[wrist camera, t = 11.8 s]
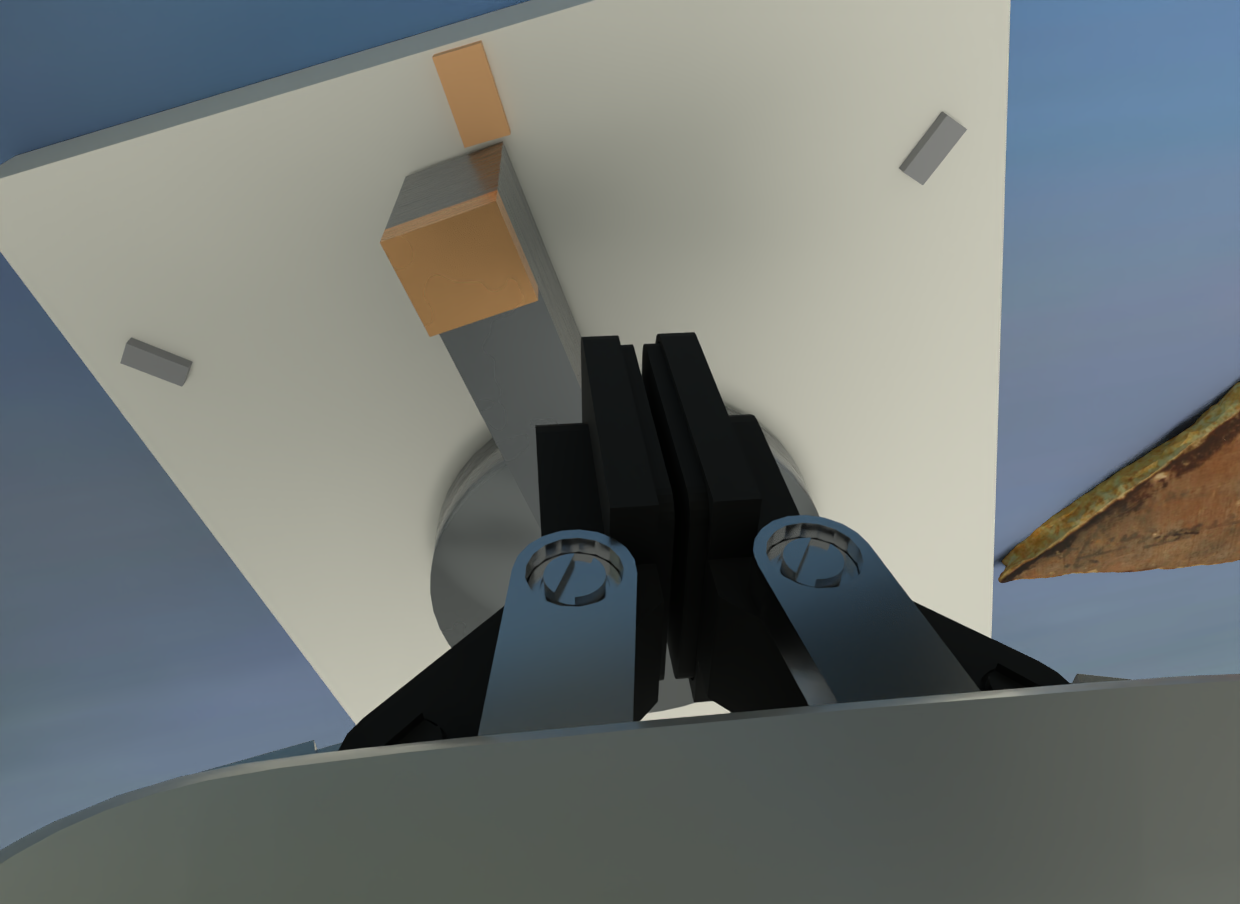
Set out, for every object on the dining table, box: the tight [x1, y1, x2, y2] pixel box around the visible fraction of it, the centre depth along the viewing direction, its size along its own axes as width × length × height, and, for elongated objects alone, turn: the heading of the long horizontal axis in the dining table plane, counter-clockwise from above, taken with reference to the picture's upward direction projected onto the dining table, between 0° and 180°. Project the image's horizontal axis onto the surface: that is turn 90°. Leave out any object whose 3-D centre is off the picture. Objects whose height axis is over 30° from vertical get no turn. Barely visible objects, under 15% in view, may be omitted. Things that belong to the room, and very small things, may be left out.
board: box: [0, 0, 1010, 725], centre depth 26 cm, size 22×28×3 cm
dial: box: [380, 141, 820, 713], centre depth 21 cm, size 18×11×4 cm, turn 18°
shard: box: [998, 382, 1240, 583], centre depth 28 cm, size 11×8×2 cm
